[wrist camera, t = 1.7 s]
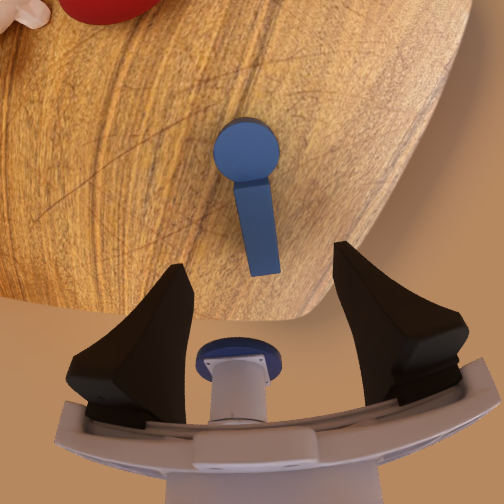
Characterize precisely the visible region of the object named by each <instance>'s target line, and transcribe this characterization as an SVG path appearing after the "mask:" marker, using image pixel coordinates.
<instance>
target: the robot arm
mask: <svg viewBox="0 0 504 504" xmlns="http://www.w3.org/2000/svg"><path fill="white" fill-rule="evenodd" d="M333 279H334V283H335V287H336V291H337V294H338V297H339V300H340V302H341V305H342V307H343V310H344V312H345V315H346V318H347V320H348V323H349V326H350V328H351V331H352V334H353V338H354V342H355V346H356V350H357V354H358V360H359V365H360V370H361V376H362V382H363V389H364V397H365V407H361V408H357V409H353V410H349V411H344V412H339V413H334V414H329V415H324V416H317V417H311V418H304V419H297V420H289V421H280V422H270V423H267V409H266V390H265V386H270V385H271V382H270V378H269V374H268V369H267V365H266V361H265V357H264V355H263V354H252V355H241V356H228V357H213V358H205V359H204V363H205V365H206V366H207V368H208V370H209V371H210V373H211V375H212V376H213V377H212V393H211V408H210V421H208V425H193V424H186V413H185V357H186V350H187V344H188V339H189V333H190V328H191V323H192V317H193V311H194V291H193V289H192V286H191V284H190V281H189V279H188V276H187V274H186V271H185V269H184V266H183V263H181V264H173V265H170V266H169V268H168V269H167V270H166V271H165V272H164V274H163V275H162V276H161V278H160V279H159V280H158V281H157V283H156V284H155V285H154V286H153V288H152V289H151V290H150V291H149V293H148V294H147V295H146V296H145V297H144V298H143V300H142V301H141V302H140V303H139V304H138V305H137V307H136V308H135V309H134V310H133V311H132V312H131V313H130V314H129V315H128V316H127V317H126V318H125V319H124V320H123V321H122V322H121V323H120V324H118V325H117V326H116V327H115V328H114V329H113V330H111V331H110V332H109V333H108V334H107V335H106V336H104V337H103V338H101V339H100V340H99V341H97V342H96V343H94V344H93V345H92V346H90V347H89V348H87V349H85V350H84V351H82V352H80V353H79V354H77V355H75V356H74V357H73V359H72V362H71V364H70V367H69V370H68V372H67V375H66V382H67V383H68V385H69V386H70V387H71V388H72V389H73V390H74V391H76V392H77V393H78V394H79V395H81V396H82V397H83V398H84V399H86V400H87V401H88V405H87V407H86V406H84V405H82V404H78V403H74V402H70V401H65V403H64V406H63V410H62V414H61V417H60V421H59V425H58V428H57V432H56V436H55V441H54V443H55V444H56V445H58V446H60V447H62V448H64V449H66V450H68V451H70V452H72V453H74V454H77V455H78V456H81V457H83V458H85V459H88V460H91V461H94V462H97V463H100V464H103V465H107V466H110V467H113V468H117V469H120V470H124V471H128V472H132V473H136V474H141V475H145V476H149V477H154V478H159V479H165V480H167V481H166V498H165V504H383V498H382V491H381V485H380V479H379V473H378V467H377V466H379V465H382V464H385V463H387V462H391V461H394V460H396V459H399V458H402V457H404V456H407V455H410V454H412V453H414V452H417V451H419V450H422V449H424V448H426V447H428V446H431V445H433V444H435V443H437V442H439V441H441V440H443V439H445V438H447V437H449V436H451V435H453V434H455V433H457V432H459V431H461V430H463V429H465V428H466V427H468V426H470V425H472V424H473V423H475V422H476V421H478V420H479V419H481V418H482V417H483V416H484V415H486V414H487V413H489V412H490V411H491V410H492V409H494V408H495V407H496V406H497V405H498V404H500V403H501V399H500V396H499V393H498V391H497V388H496V386H495V383H494V381H493V379H492V377H491V375H490V372H489V370H488V367H487V365H486V363H485V361H484V359H483V358H479V359H477V360H475V361H473V362H471V363H469V364H467V365H465V366H463V367H462V368H460V369H459V368H458V365H457V364H458V363H459V358H458V356H457V353H458V352H459V350H460V349H461V347H462V346H463V344H464V343H465V341H466V340H467V338H468V335H469V329H468V327H467V325H466V323H465V322H464V320H463V318H462V316H461V315H460V313H459V312H456V311H453V310H450V309H448V308H445V307H442V306H439V305H437V304H435V303H433V302H430V301H428V300H426V299H424V298H422V297H420V296H418V295H417V294H415V293H413V292H411V291H409V290H408V289H406V288H404V287H403V286H401V285H400V284H398V283H397V282H395V281H394V280H392V279H391V278H389V277H388V276H387V275H385V274H384V273H383V272H382V271H380V270H379V269H378V268H376V267H375V266H374V265H373V264H372V263H371V262H369V261H368V260H367V259H366V258H365V257H364V256H362V255H361V254H360V253H359V252H358V251H357V250H356V249H355V248H354V247H352V246H351V245H350V244H349V243H348V242H347V241H342V242H335V243H334V255H333Z"/></svg>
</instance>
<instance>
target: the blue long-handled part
mask: <svg viewBox="0 0 504 504" xmlns="http://www.w3.org/2000/svg"><path fill="white" fill-rule="evenodd" d="M279 154H280V152H279V145H278V142H277V140H276V138H275V136H274V134H273V132H272V130H271V129H270V128H269V127H268V126H267V125H266V124H265V123H263V122H262V121H260V120H257V119H254V118H239V119H236V120H233V121H231V122H230V123H228V124H227V125H226V126H225V127H224V128H223V129H222V130H221V132H220V133H219V135H218V137H217V140H216V142H215V145H214V150H213V156H214V161H215V164H216V166H217V168H218V169H219V171H220V172H221V173H222V174H223V175H224V176H225V177H227V178H228V179H230V180H232V181H234V189H233V191H234V196H235V201H236V206H237V211H238V215H239V220H240V225H241V230H242V235H243V240H244V245H245V249H246V254H247V259H248V264H249V269H250V273H251V277H254V276H262V275H270V274H277V273H281V269H280V261H279V252H278V244H277V236H276V228H275V220H274V212H273V204H272V197H271V190H270V183H269V178H268V175H270V174H271V173H272V172H273V170H274V169H275V167H276V165H277V163H278V160H279Z"/></svg>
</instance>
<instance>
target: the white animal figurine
mask: <svg viewBox="0 0 504 504" xmlns="http://www.w3.org/2000/svg"><path fill="white" fill-rule="evenodd" d="M50 14H51V12H50V10H49V8H48V7H47V5H46V4H45V3H44V2H42V1H40V0H0V34H1V33H3V32H4V31H5V30H6V29H7V28H8V27H9V26H10V25H11V24H12V23H13V21H14V20H16V21H18V22H20V23H21V24H24V25H25V26H27V27H29V28H31V29H34V30H35V29H37V28H41V27H42V26H44V25H45V24H47V23H48V21H49V19H50Z"/></svg>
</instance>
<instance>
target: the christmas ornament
mask: <svg viewBox="0 0 504 504" xmlns="http://www.w3.org/2000/svg"><path fill="white" fill-rule="evenodd" d="M160 1H161V0H59V2H60V5H61V6H62V8H63V10H64V11H65V12H66V13H67V14H68V15H69V16H71V17H72V18H74V19H75V20H77V21H80V22H83V23H86V24H92V25H109V24H115V23H120V22H123V21H127V20H129V19H132V18H134V17H137V16H139V15H141V14H143V13H144V12H146V11H148V10H149V9H151V8H152V7H154V6H155V5H156V4H157V3H158V2H160Z"/></svg>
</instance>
